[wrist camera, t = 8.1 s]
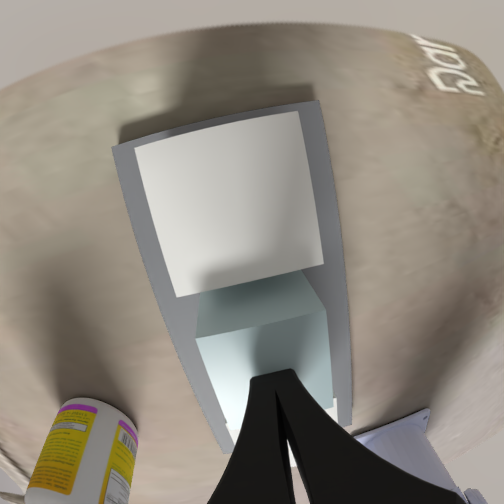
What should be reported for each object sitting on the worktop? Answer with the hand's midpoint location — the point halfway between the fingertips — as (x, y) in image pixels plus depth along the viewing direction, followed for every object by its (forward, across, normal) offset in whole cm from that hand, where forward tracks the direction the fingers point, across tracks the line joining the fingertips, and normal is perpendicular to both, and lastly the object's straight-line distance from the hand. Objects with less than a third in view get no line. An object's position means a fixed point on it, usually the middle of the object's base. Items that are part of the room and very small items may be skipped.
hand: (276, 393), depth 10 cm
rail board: (+8, 0, +2) cm, 9 cm away
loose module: (+6, 0, 0) cm, 7 cm away
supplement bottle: (+9, +14, +9) cm, 19 cm away
